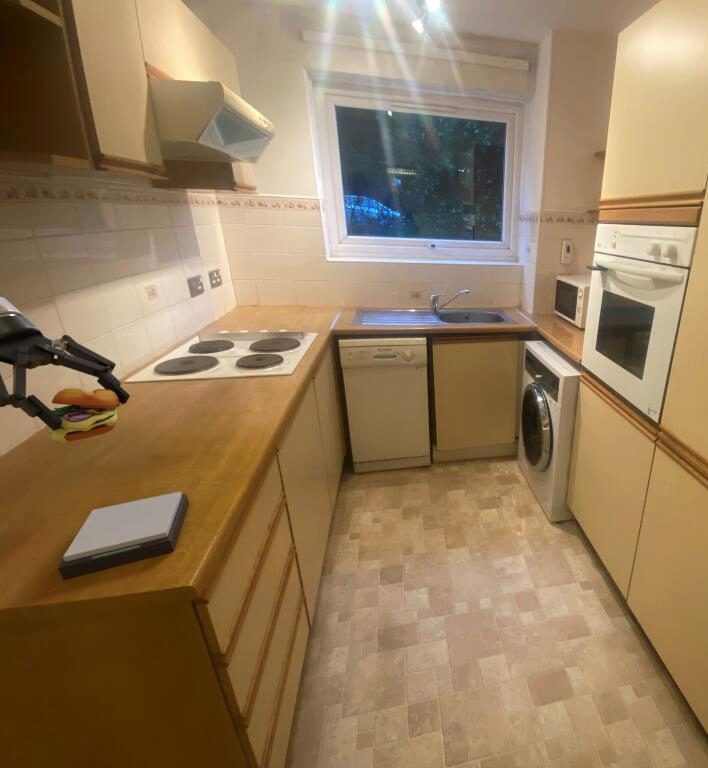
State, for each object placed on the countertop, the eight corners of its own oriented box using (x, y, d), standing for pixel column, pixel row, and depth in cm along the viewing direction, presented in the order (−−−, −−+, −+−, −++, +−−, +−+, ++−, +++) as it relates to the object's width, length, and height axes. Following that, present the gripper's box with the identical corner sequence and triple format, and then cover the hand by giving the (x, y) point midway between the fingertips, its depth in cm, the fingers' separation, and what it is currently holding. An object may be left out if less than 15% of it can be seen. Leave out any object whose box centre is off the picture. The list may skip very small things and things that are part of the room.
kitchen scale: (63, 579, 67) (55, 563, 66) (96, 524, 78) (89, 508, 77) (173, 551, 72) (168, 535, 71) (189, 503, 84) (184, 488, 83)
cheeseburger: (30, 443, 79) (24, 390, 78) (93, 430, 90) (88, 382, 88) (78, 447, 78) (72, 393, 77) (136, 433, 88) (132, 385, 87)
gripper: (68, 324, 92) (148, 399, 95) (-97, 358, 71) (11, 453, 73) (78, 301, 89) (160, 379, 92) (-92, 329, 68) (21, 429, 70)
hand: (94, 412), depth 83 cm, fingers closed on cheeseburger, 11 cm apart
